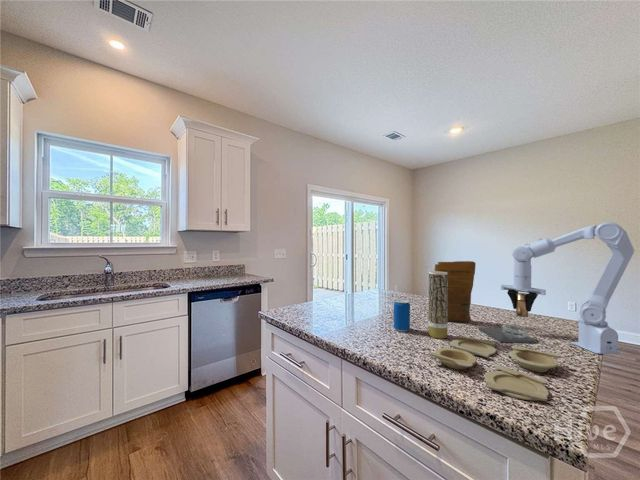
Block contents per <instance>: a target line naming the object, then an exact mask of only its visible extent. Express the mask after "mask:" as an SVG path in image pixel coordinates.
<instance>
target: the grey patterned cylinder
mask: <svg viewBox="0 0 640 480" xmlns="http://www.w3.org/2000/svg"><path fill="white" fill-rule="evenodd" d="M447 317H448V273H447V272H440V271H434V270H431V271H428V328H427V329H428V332H427V333H428V335H429V336H430V337H432V338H433V339H446V338H448V322H447Z"/></svg>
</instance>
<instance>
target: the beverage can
mask: <svg viewBox="0 0 640 480" xmlns="http://www.w3.org/2000/svg"><path fill="white" fill-rule="evenodd" d="M393 328H394V329H395V331H397V332H400V333H401V332H402V333H405V332H406V333H407V332H408V331H410V329H411V303H410V301H409V300H406V299H395V300H394V303H393Z"/></svg>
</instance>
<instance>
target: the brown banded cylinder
mask: <svg viewBox="0 0 640 480" xmlns="http://www.w3.org/2000/svg"><path fill="white" fill-rule="evenodd" d="M526 294H527V293H526V292H518V293H516V309H515V316H516V317H520V318H529V312H528V311H527V295H526Z"/></svg>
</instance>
